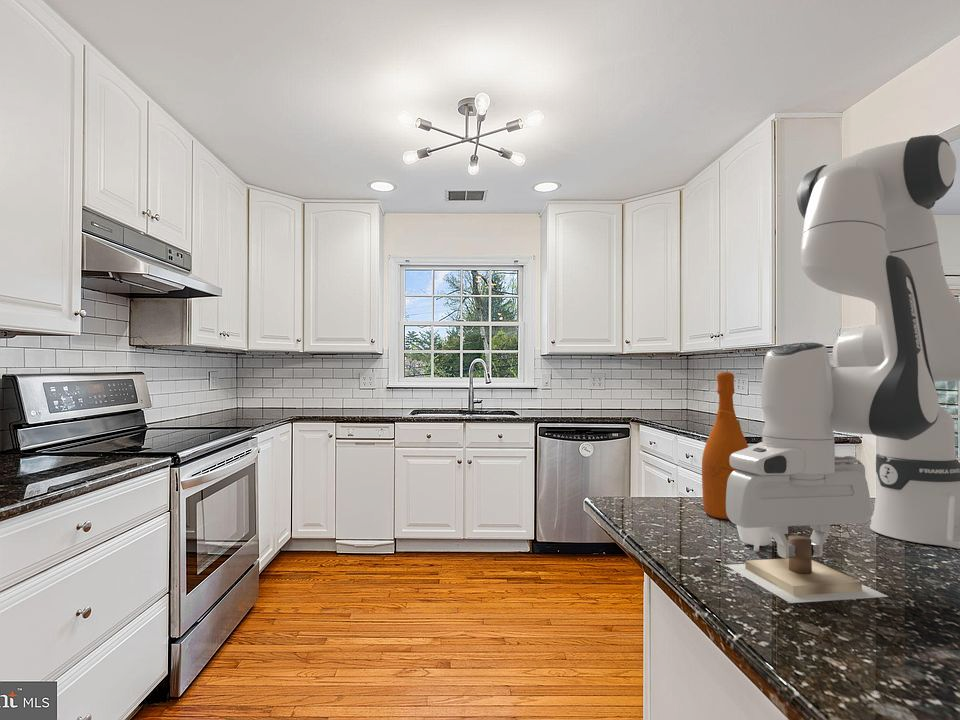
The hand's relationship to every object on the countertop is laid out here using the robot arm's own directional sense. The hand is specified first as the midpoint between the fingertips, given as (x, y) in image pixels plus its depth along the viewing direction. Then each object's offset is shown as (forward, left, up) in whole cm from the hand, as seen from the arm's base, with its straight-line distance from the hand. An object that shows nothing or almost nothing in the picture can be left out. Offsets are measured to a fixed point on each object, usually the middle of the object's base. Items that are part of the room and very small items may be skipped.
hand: (799, 556), depth 76 cm
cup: (-3, -14, -4) cm, 15 cm away
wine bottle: (-12, -36, -4) cm, 38 cm away
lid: (0, 0, -3) cm, 3 cm away
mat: (0, 0, -4) cm, 4 cm away
